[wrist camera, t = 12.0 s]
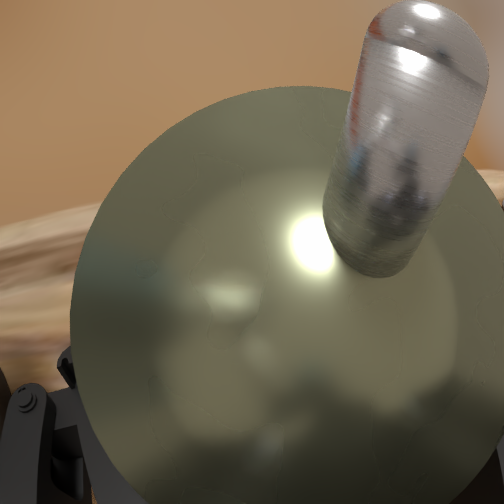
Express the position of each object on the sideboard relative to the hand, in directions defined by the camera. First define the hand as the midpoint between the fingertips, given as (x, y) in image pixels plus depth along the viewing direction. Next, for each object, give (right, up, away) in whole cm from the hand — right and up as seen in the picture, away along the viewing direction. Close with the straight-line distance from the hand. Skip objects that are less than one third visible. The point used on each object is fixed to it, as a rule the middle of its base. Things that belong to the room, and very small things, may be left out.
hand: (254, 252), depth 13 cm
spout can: (0, -5, +4) cm, 6 cm away
